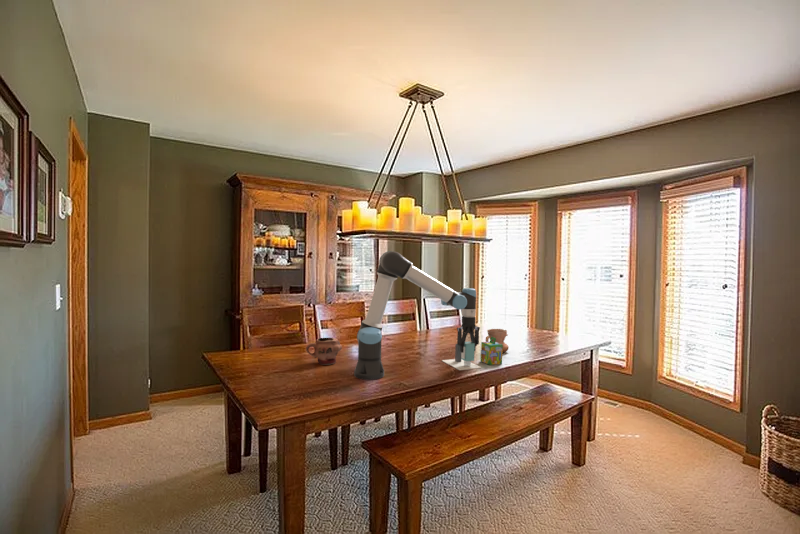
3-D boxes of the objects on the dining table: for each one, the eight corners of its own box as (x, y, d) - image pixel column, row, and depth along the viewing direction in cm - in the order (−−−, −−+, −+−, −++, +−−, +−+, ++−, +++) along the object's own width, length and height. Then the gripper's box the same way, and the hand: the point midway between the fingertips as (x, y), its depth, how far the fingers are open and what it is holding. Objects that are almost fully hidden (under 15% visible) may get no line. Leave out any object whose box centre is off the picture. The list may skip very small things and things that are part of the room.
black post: (457, 362, 237) (457, 344, 237) (455, 360, 239) (455, 343, 239) (461, 361, 238) (461, 344, 238) (458, 360, 240) (459, 343, 240)
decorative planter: (309, 368, 219) (309, 342, 219) (303, 362, 230) (303, 338, 229) (344, 364, 229) (345, 339, 228) (337, 359, 239) (337, 335, 239)
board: (459, 370, 222) (459, 369, 222) (441, 361, 240) (441, 360, 240) (481, 368, 227) (481, 367, 227) (462, 359, 246) (462, 358, 246)
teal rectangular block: (466, 361, 226) (466, 344, 226) (461, 359, 231) (461, 342, 231) (474, 360, 228) (474, 343, 228) (469, 358, 233) (469, 341, 233)
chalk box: (480, 361, 242) (480, 336, 241) (493, 360, 245) (493, 335, 245) (489, 365, 233) (490, 339, 233) (502, 364, 237) (503, 338, 236)
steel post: (466, 366, 228) (467, 348, 228) (464, 365, 230) (464, 347, 230) (470, 366, 229) (471, 348, 229) (468, 365, 231) (468, 347, 231)
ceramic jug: (499, 348, 277) (499, 327, 277) (514, 352, 265) (514, 330, 264) (478, 351, 269) (478, 329, 268) (493, 356, 256) (493, 333, 256)
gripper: (457, 317, 222) (456, 360, 222) (486, 316, 229) (485, 358, 229) (451, 315, 229) (450, 357, 229) (478, 314, 236) (477, 354, 236)
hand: (467, 357), depth 229 cm, fingers closed on teal rectangular block, 5 cm apart
